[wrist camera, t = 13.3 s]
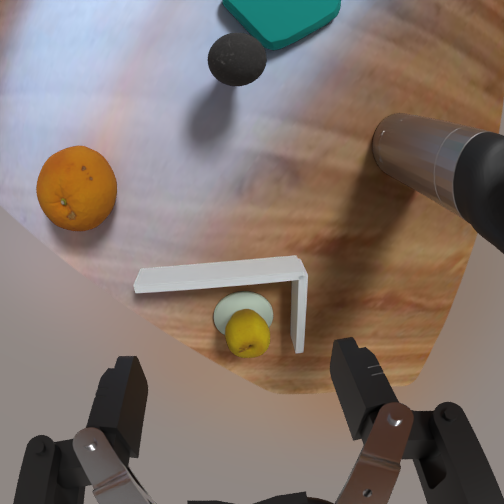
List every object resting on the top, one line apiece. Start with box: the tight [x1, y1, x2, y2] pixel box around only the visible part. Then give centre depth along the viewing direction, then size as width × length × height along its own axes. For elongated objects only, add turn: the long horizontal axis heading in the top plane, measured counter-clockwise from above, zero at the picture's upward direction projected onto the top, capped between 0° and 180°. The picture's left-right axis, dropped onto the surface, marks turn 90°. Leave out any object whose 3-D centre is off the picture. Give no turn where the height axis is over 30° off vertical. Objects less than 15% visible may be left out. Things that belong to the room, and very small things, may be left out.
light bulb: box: [208, 33, 267, 86], centre depth 28 cm, size 6×6×10 cm
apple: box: [225, 309, 270, 358], centre depth 45 cm, size 6×6×8 cm
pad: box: [214, 291, 273, 335], centre depth 48 cm, size 9×9×1 cm
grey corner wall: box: [133, 255, 308, 353], centre depth 45 cm, size 23×15×4 cm, turn 93°
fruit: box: [36, 146, 117, 231], centre depth 34 cm, size 10×10×8 cm
